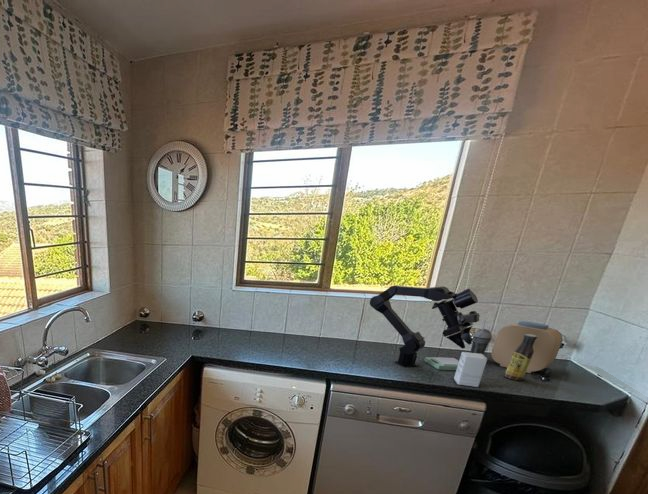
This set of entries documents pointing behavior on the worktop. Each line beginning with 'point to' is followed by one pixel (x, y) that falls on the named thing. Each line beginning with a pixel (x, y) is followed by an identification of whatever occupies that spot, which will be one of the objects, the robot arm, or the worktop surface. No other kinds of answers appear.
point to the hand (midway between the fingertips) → (467, 346)
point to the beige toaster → (543, 345)
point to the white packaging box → (470, 369)
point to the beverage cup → (480, 340)
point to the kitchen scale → (443, 363)
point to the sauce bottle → (521, 358)
